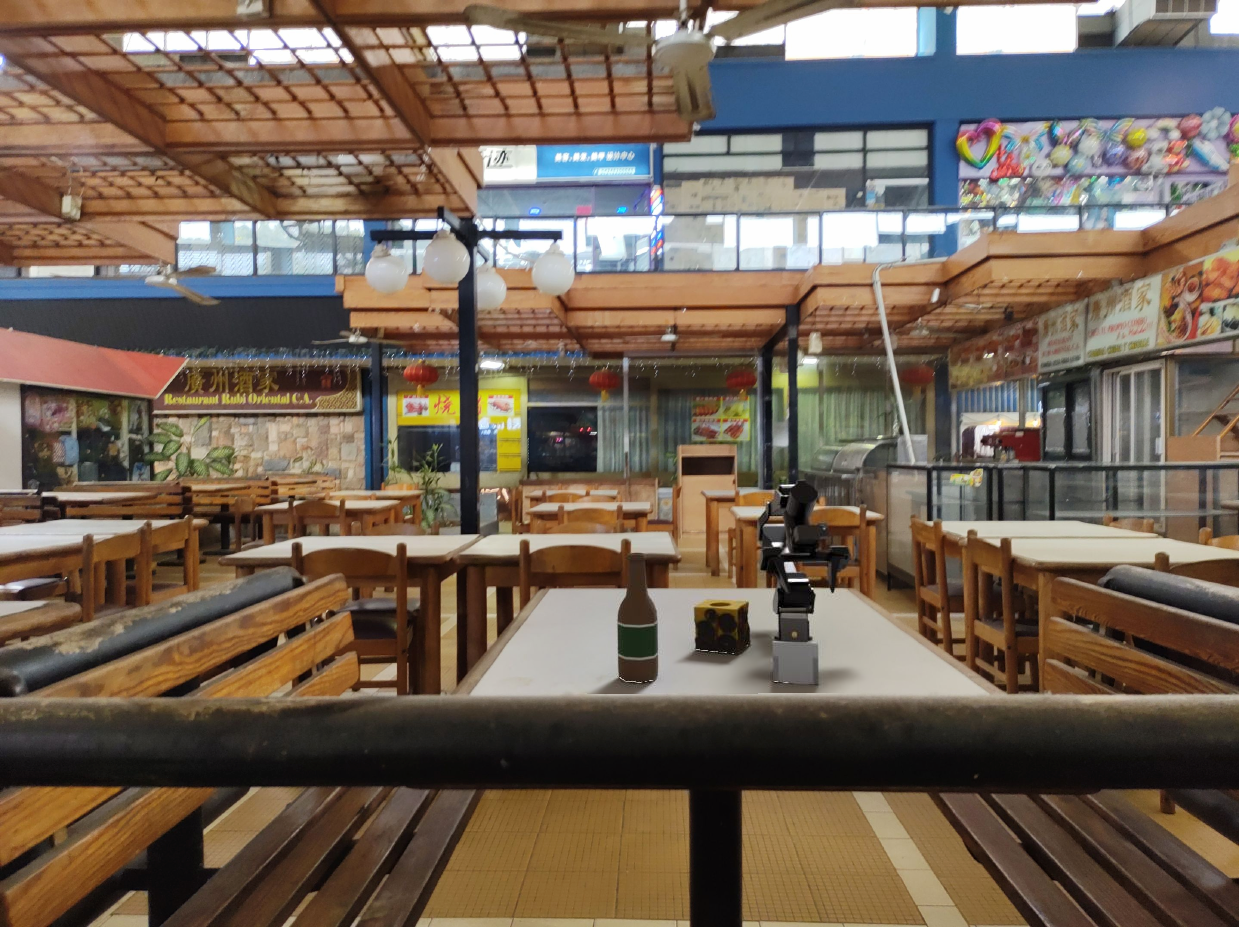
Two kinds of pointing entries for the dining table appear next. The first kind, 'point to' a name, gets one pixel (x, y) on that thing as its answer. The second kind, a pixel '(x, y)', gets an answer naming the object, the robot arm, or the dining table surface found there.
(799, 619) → the plug
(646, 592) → the beer bottle
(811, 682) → the socket
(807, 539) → the robot arm
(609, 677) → the dining table surface
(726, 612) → the yellow and black cube
